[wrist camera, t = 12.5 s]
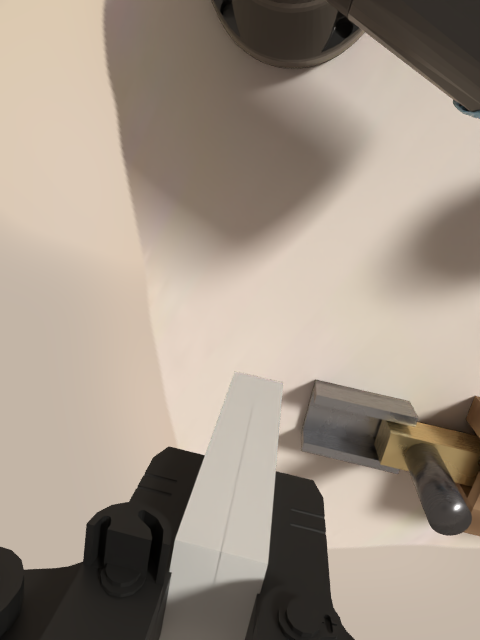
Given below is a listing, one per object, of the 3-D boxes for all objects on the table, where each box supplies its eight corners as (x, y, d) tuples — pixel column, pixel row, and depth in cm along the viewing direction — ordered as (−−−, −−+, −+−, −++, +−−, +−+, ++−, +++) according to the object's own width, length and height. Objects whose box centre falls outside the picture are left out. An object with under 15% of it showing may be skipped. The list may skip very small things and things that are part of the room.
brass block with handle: (383, 414, 44) (412, 489, 33) (512, 444, 43) (585, 531, 32) (374, 443, 45) (398, 525, 34) (498, 473, 44) (565, 567, 33)
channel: (315, 379, 45) (316, 394, 42) (409, 401, 44) (418, 418, 41) (301, 432, 47) (301, 450, 44) (391, 453, 47) (398, 474, 43)
